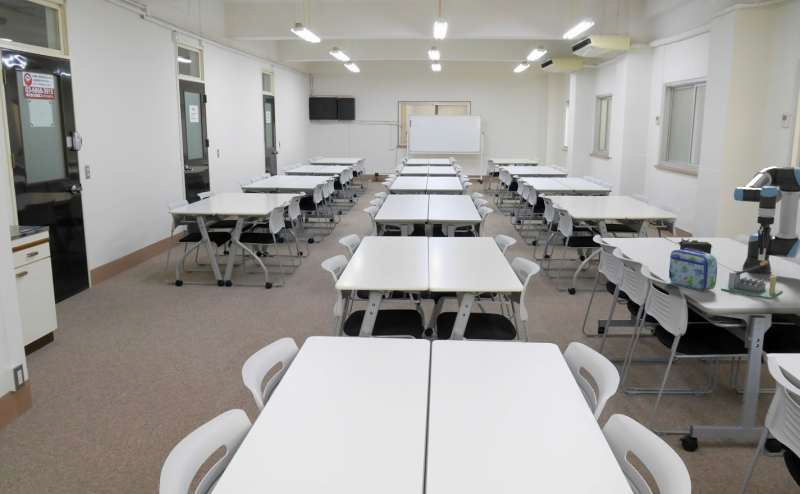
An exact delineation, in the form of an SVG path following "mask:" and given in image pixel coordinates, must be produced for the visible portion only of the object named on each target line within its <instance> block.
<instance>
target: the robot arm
mask: <svg viewBox="0 0 800 494" xmlns="http://www.w3.org/2000/svg"><path fill="white" fill-rule="evenodd" d="M733 199H734V200H735V201H738V202H749V203H758V209H757V211H758V212H757V213H758V214H757V215H758V216H757V221H756V222H757V223H756V224H760V226H759V229H758V230H757V233H751V235H749V238H748V243H747V244H748V245H747V254H746V255H747V256H746V259H745V261H744V263H743V265H742V271H744V270H747V269H750V268H753V267H755V266H758V265H760V263H761V262H763V261H766V260H767V261H768V265H765V266H762V267H759V268H756V269H753V270H751V271H748V272H749V273H754V274H755V273H756V274H770V273H771V272H772V267H771V262H770V256H773V257H778V258H786V259H789V258H790V259H794V258H796V257H797V256H798V254H799V252H800V238H799V234H797V233H796V231H797V230H796V229H797V224H798V223H797V220H798V212H799V211H798V210H799V202H800V201H799V199H800V167H799V166H776V165H775V166H770V167H766V168H762V169H761V170H759V171H757V172H756V173H755V174H754V176H753V178H752V179H751V180H749V182H748V183H747V184H746V185H745V186H744V187H743V186H738V187H736V188H734V191H733ZM777 203H780V209H779V221H778V232H776V233H775V234H774V236H773V234H772V233H771V231H772V228H771V225H774V223H775V216H776V207H777Z"/></svg>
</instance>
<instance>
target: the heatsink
mask: <svg viewBox="0 0 800 494" xmlns="http://www.w3.org/2000/svg"><path fill="white" fill-rule="evenodd" d="M764 281H765V279H761V280H760V279H759V278H755V279H753V277H750V278H748V277H747V276H744V277H742V278H740V279H739V282H738V283H737V286H736V289H738V290H744V291H749V292H755V293H760V292H762V291H764V290H765V288H767V287H766V285H767V283H765V282H764Z"/></svg>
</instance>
